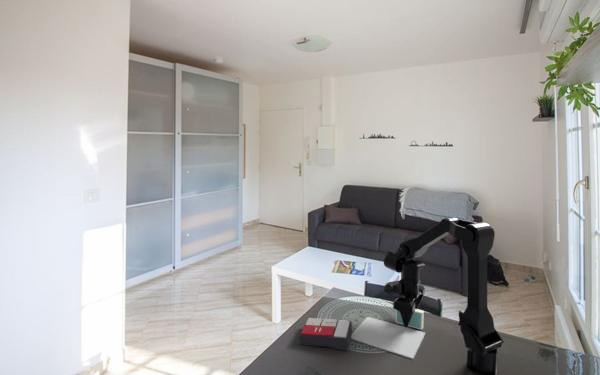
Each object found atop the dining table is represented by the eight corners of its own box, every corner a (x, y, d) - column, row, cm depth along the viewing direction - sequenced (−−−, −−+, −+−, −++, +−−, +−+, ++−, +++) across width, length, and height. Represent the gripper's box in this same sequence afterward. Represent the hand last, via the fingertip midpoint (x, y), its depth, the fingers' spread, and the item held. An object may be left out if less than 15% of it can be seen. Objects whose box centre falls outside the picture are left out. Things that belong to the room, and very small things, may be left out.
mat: (425, 333, 105) (425, 332, 105) (413, 359, 92) (413, 358, 92) (367, 317, 116) (367, 316, 116) (349, 338, 103) (349, 337, 103)
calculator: (307, 316, 110) (351, 318, 106) (308, 328, 110) (352, 331, 106) (298, 333, 99) (347, 336, 95) (299, 346, 99) (348, 350, 95)
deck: (423, 327, 109) (423, 310, 109) (422, 330, 108) (422, 313, 107) (396, 320, 114) (397, 304, 114) (395, 322, 113) (395, 306, 112)
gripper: (395, 265, 122) (394, 304, 123) (378, 280, 106) (377, 325, 107) (425, 270, 116) (424, 312, 117) (412, 288, 100) (411, 335, 101)
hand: (409, 320), depth 111 cm, fingers open, 8 cm apart
